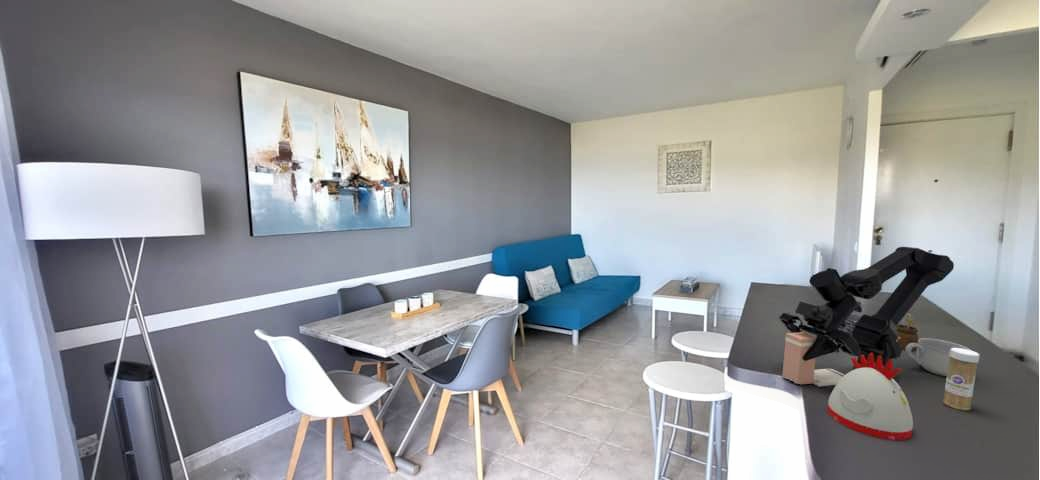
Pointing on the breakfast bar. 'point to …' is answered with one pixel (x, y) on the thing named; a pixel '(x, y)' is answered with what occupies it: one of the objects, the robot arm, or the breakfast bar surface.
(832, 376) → the ticket strip
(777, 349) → the breakfast bar surface
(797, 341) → the carton
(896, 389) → the kitchen timer
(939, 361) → the teacup
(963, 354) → the sprinkles bottle
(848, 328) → the small box
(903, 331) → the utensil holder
